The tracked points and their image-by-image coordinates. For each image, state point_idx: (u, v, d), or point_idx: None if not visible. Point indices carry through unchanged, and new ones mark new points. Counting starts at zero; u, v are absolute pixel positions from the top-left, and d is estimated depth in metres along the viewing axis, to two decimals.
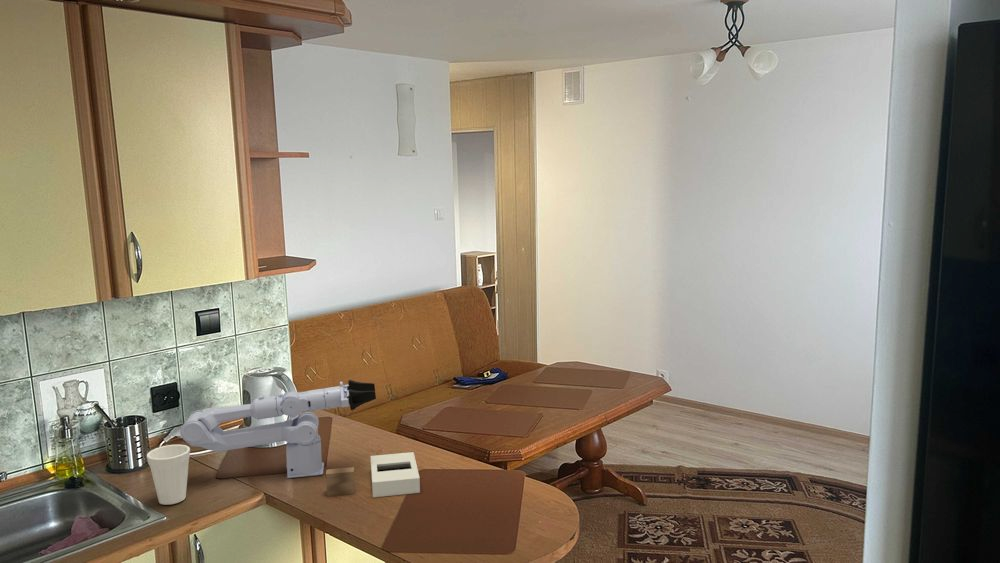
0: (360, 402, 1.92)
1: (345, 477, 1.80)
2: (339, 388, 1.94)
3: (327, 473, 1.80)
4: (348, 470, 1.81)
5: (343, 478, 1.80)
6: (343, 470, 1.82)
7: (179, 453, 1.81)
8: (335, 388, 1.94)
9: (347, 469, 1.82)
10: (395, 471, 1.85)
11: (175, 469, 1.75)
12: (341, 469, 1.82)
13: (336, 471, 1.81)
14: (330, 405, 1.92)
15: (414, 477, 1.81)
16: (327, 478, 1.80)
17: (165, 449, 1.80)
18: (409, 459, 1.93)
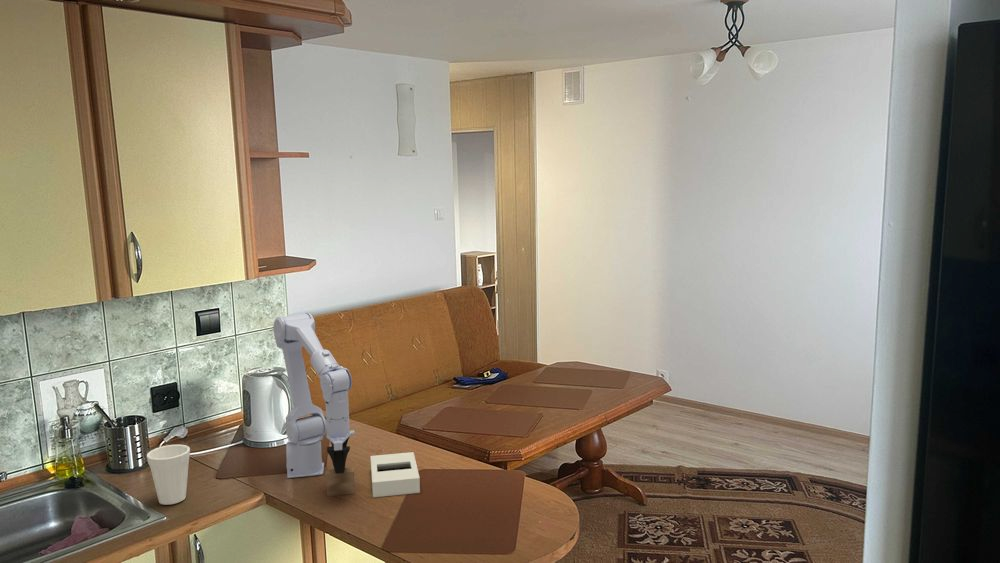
0: (334, 458, 1.76)
1: (345, 477, 1.81)
2: (348, 432, 1.79)
3: (327, 473, 1.80)
4: (348, 470, 1.81)
5: (343, 478, 1.80)
6: None
7: (179, 453, 1.81)
8: (348, 427, 1.80)
9: (347, 469, 1.82)
10: (395, 471, 1.85)
11: (175, 469, 1.75)
12: None
13: None
14: (331, 424, 1.77)
15: (414, 477, 1.81)
16: (327, 478, 1.80)
17: (165, 449, 1.80)
18: (409, 459, 1.93)
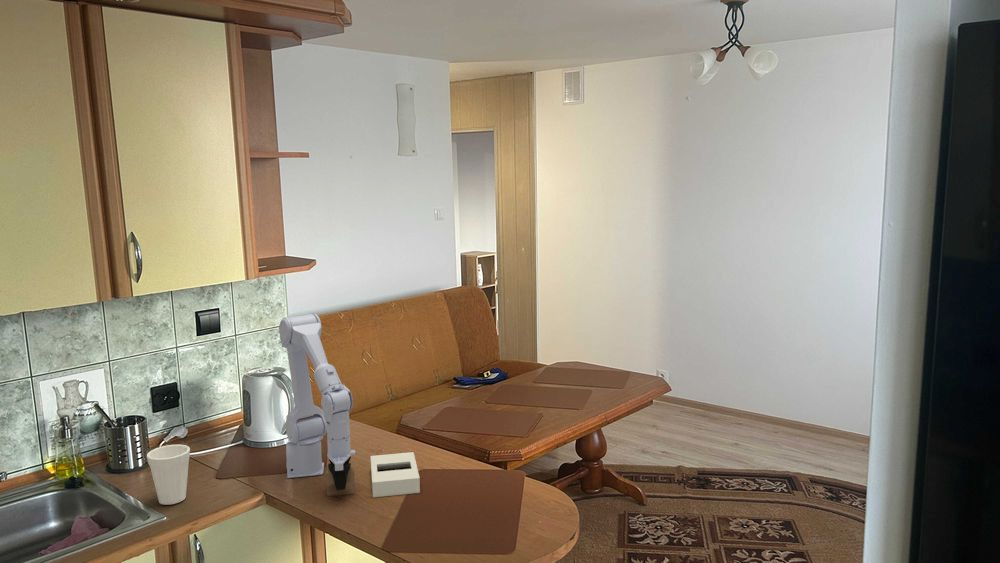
0: (335, 475, 1.79)
1: None
2: (349, 452, 1.80)
3: (327, 473, 1.80)
4: None
5: None
6: None
7: (179, 453, 1.81)
8: (349, 447, 1.80)
9: None
10: (395, 471, 1.85)
11: (175, 469, 1.75)
12: None
13: None
14: (332, 444, 1.78)
15: (414, 477, 1.81)
16: (327, 478, 1.80)
17: (165, 449, 1.80)
18: (409, 459, 1.93)
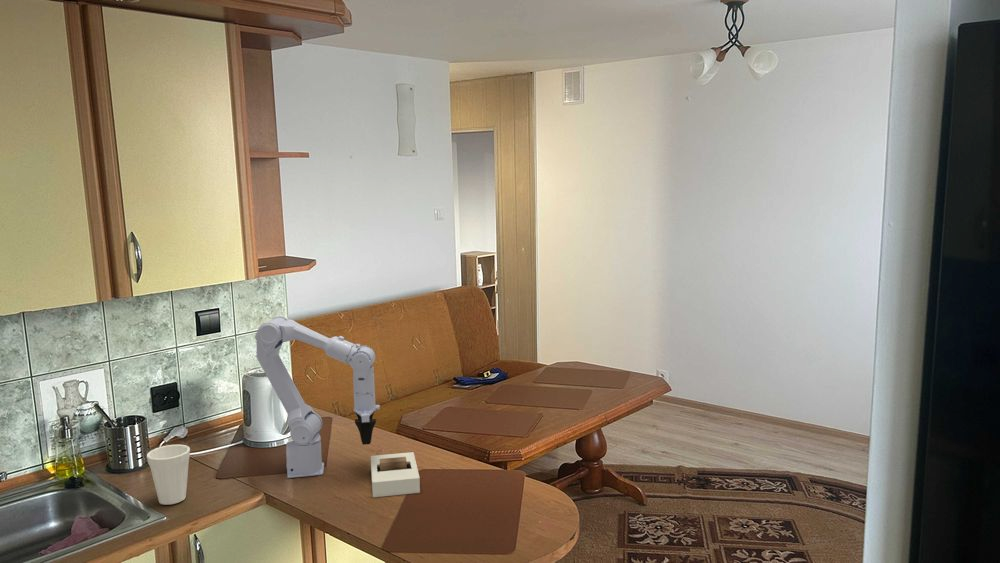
0: (361, 430, 1.89)
1: (398, 466, 1.87)
2: (374, 406, 1.92)
3: (381, 462, 1.87)
4: (400, 459, 1.88)
5: (396, 467, 1.87)
6: (395, 459, 1.88)
7: (179, 453, 1.81)
8: (374, 402, 1.92)
9: (399, 458, 1.89)
10: (395, 471, 1.85)
11: (175, 469, 1.75)
12: (394, 458, 1.89)
13: (389, 461, 1.87)
14: (359, 398, 1.90)
15: (414, 477, 1.81)
16: (381, 467, 1.86)
17: (165, 449, 1.80)
18: (409, 459, 1.93)
